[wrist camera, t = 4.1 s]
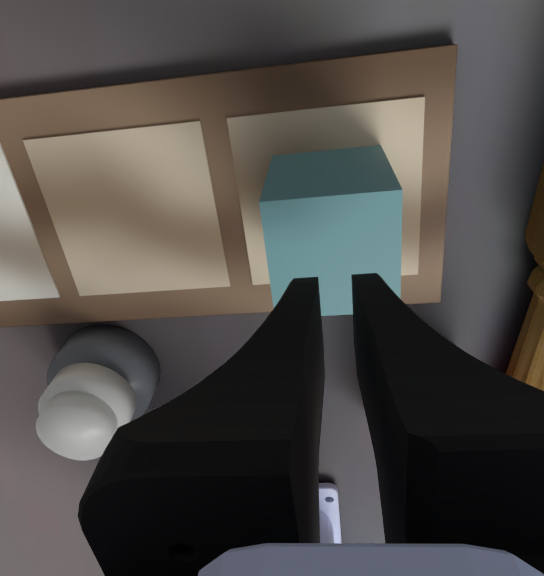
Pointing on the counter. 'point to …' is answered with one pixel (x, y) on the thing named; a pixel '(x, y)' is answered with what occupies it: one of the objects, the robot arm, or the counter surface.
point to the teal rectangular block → (332, 222)
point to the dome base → (113, 359)
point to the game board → (204, 182)
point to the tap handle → (533, 303)
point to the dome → (84, 410)
